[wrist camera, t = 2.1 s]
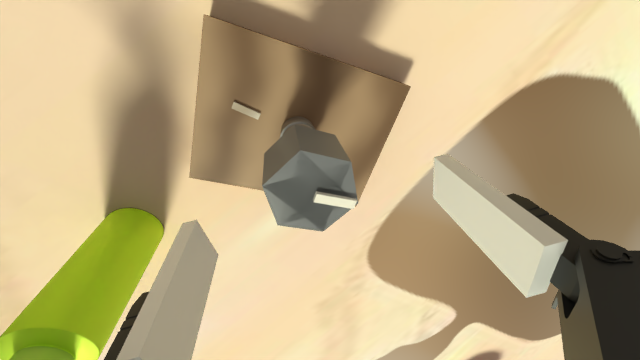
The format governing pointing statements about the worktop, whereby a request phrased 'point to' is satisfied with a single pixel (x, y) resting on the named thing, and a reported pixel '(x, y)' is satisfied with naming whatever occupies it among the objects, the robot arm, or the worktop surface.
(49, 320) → the soap dispenser
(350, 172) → the knob
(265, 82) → the wooden board with bolt
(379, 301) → the worktop surface
